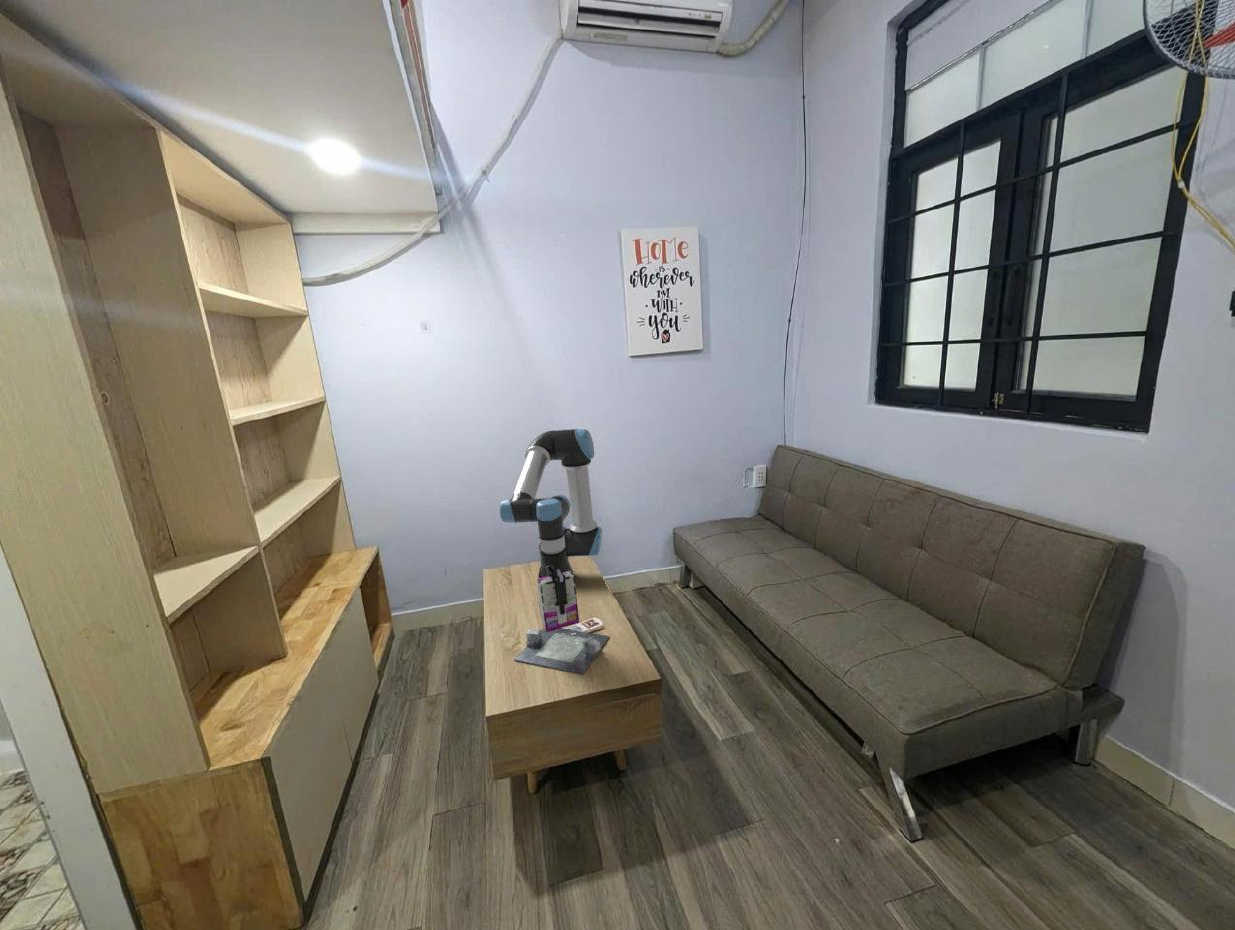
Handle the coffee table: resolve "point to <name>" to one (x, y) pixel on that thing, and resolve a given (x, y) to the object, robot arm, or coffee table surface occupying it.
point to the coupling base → (562, 649)
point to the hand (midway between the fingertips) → (560, 618)
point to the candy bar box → (549, 601)
